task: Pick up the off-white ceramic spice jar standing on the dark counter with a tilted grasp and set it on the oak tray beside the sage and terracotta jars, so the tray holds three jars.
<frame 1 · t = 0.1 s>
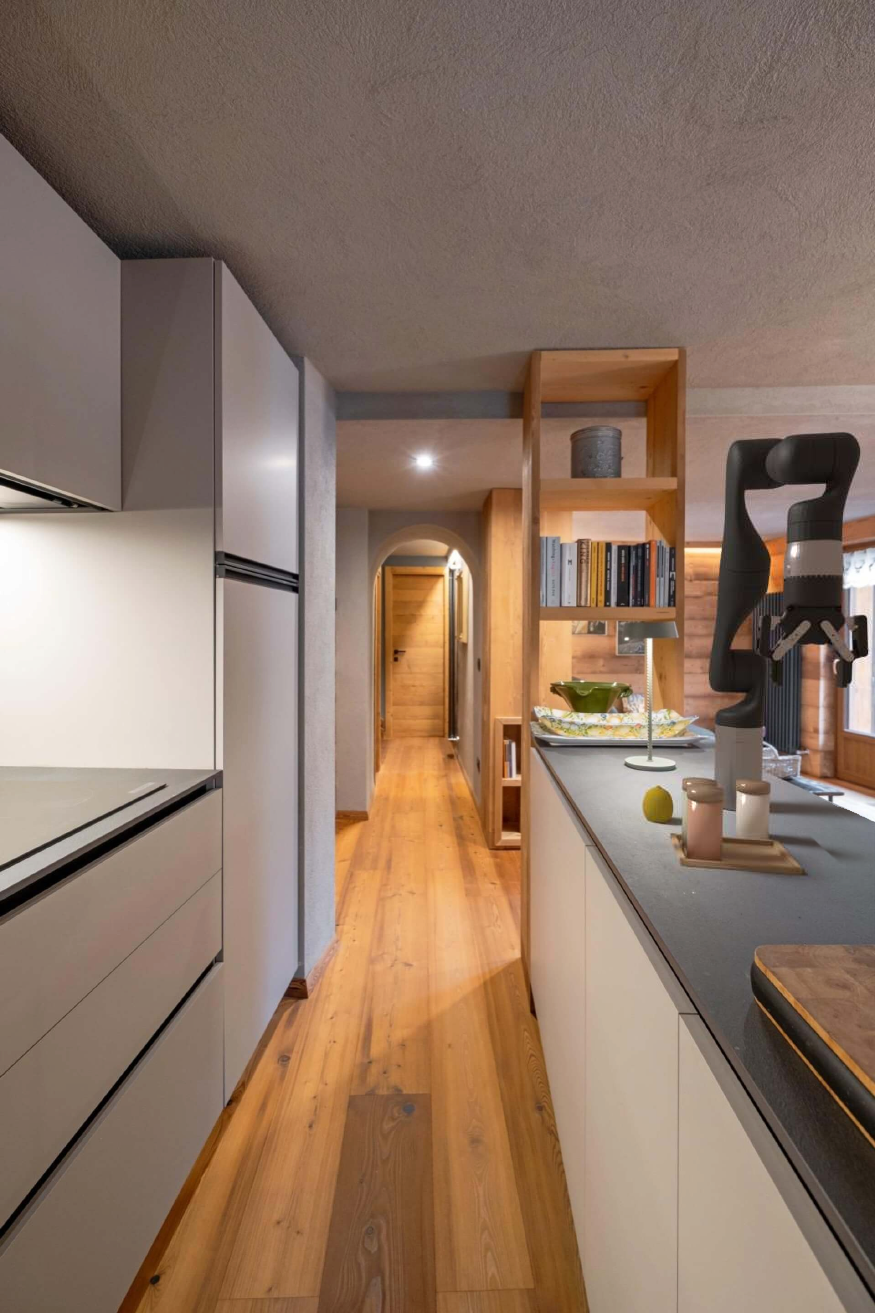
hand: (809, 686, 98), 29 cm above the worktop, tool pointing down, fingers open, 8 cm apart
terracotta jar: (704, 858, 106), point 1 cm above the worktop, touching tray
sage jar: (698, 847, 111), point 1 cm above the worktop, touching tray
white jar: (751, 845, 117), on the worktop
lemon: (657, 828, 127), on the worktop
tray: (730, 864, 108), on the worktop
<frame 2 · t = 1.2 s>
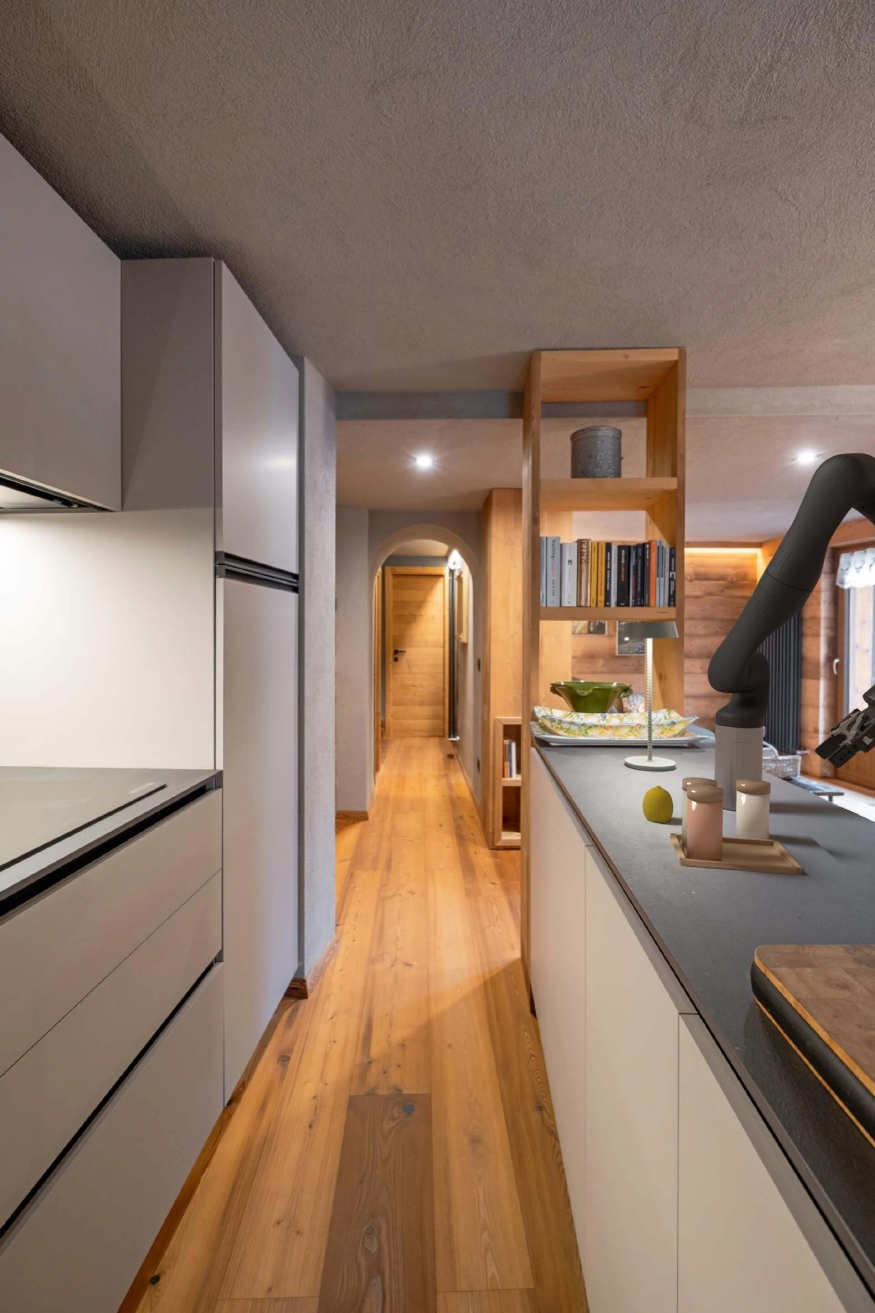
hand: (825, 759, 114), 16 cm above the worktop, tool tilted 45°, fingers open, 8 cm apart
nothing on the worktop moved.
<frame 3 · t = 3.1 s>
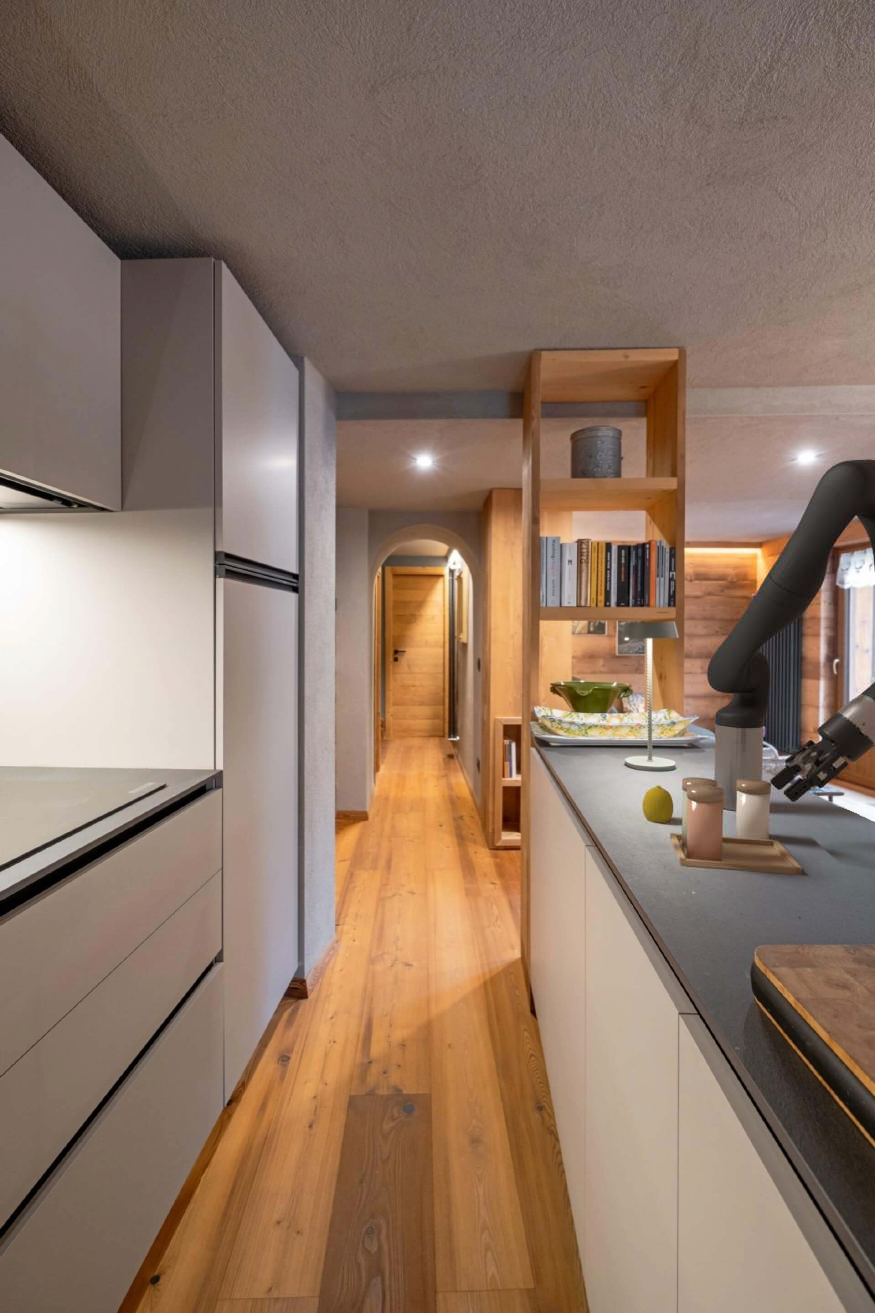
hand: (780, 791, 116), 10 cm above the worktop, tool tilted 45°, fingers open, 8 cm apart
nothing on the worktop moved.
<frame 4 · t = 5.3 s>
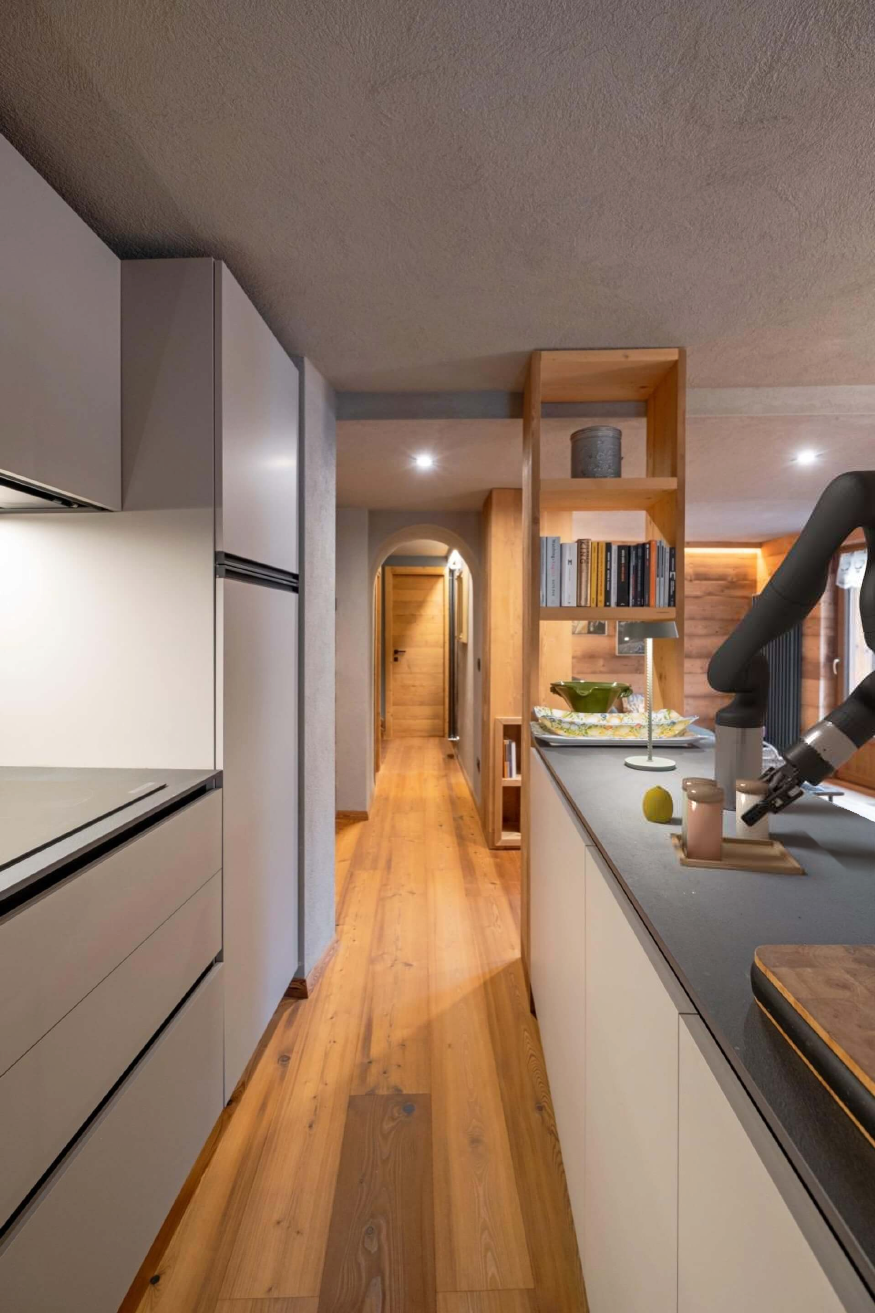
hand: (741, 817, 117), 5 cm above the worktop, tool tilted 45°, fingers closed on white jar, 5 cm apart
white jar: (751, 845, 117), on the worktop, touching gripper
everything else where it was.
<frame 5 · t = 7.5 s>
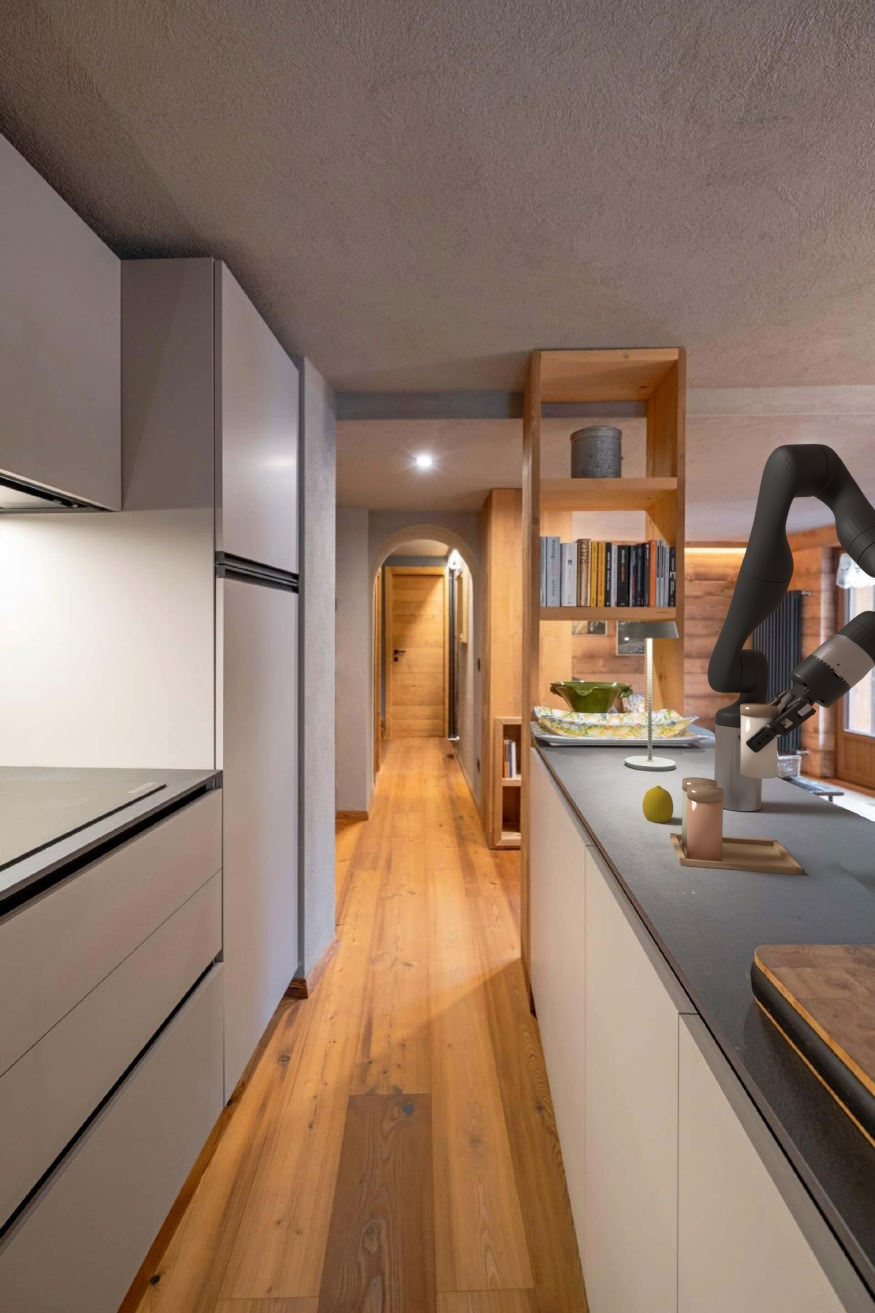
hand: (746, 745, 107), 19 cm above the worktop, tool tilted 45°, fingers closed on white jar, 5 cm apart
white jar: (758, 775, 106), point 15 cm above the worktop, touching gripper
everything else where it was.
when the fingers open (7 cm above the worktop, at t = 10.2 s): white jar stays where it is, resting on tray.
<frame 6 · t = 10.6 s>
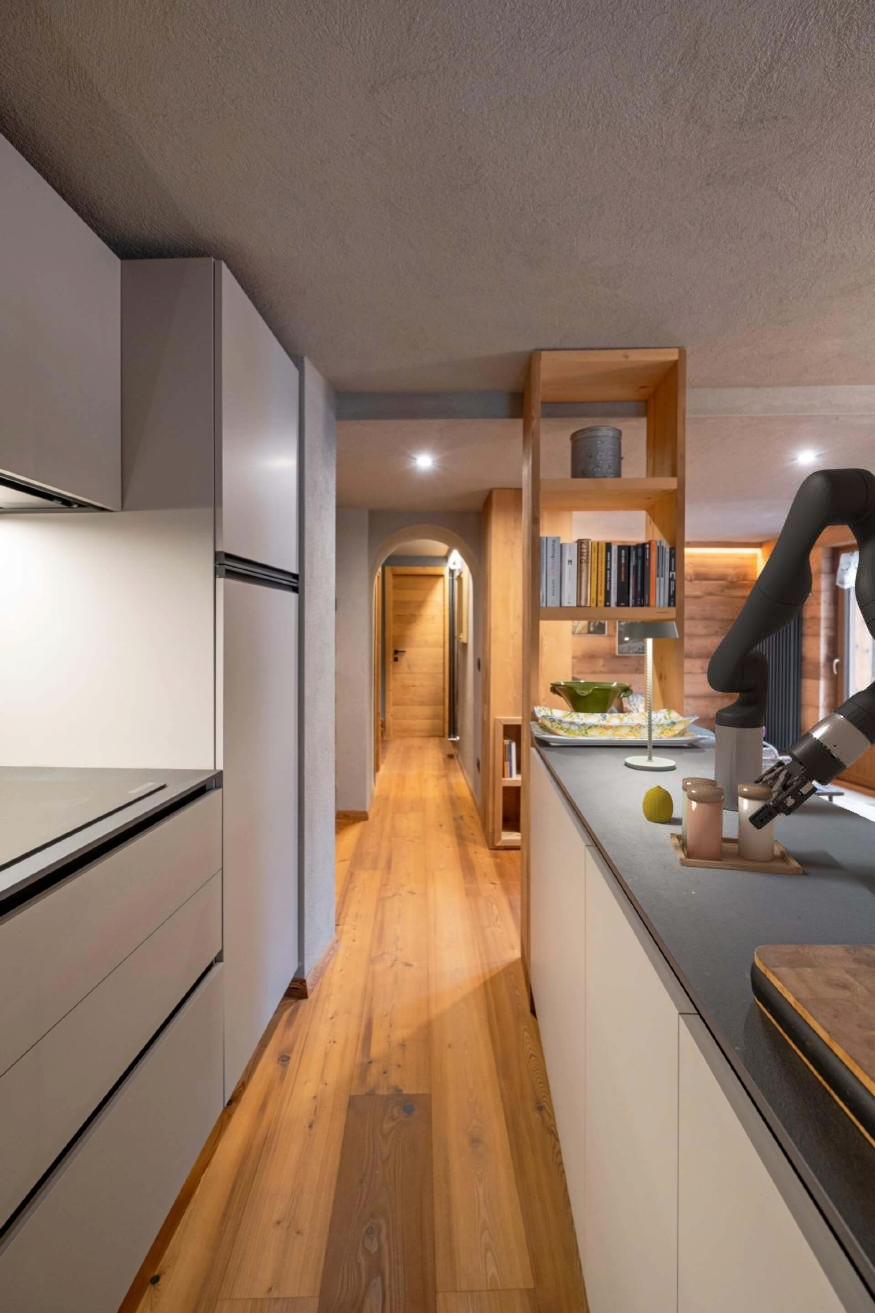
hand: (746, 817, 107), 8 cm above the worktop, tool tilted 45°, fingers open, 8 cm apart
white jar: (755, 856, 107), point 2 cm above the worktop, touching tray
everything else where it was.
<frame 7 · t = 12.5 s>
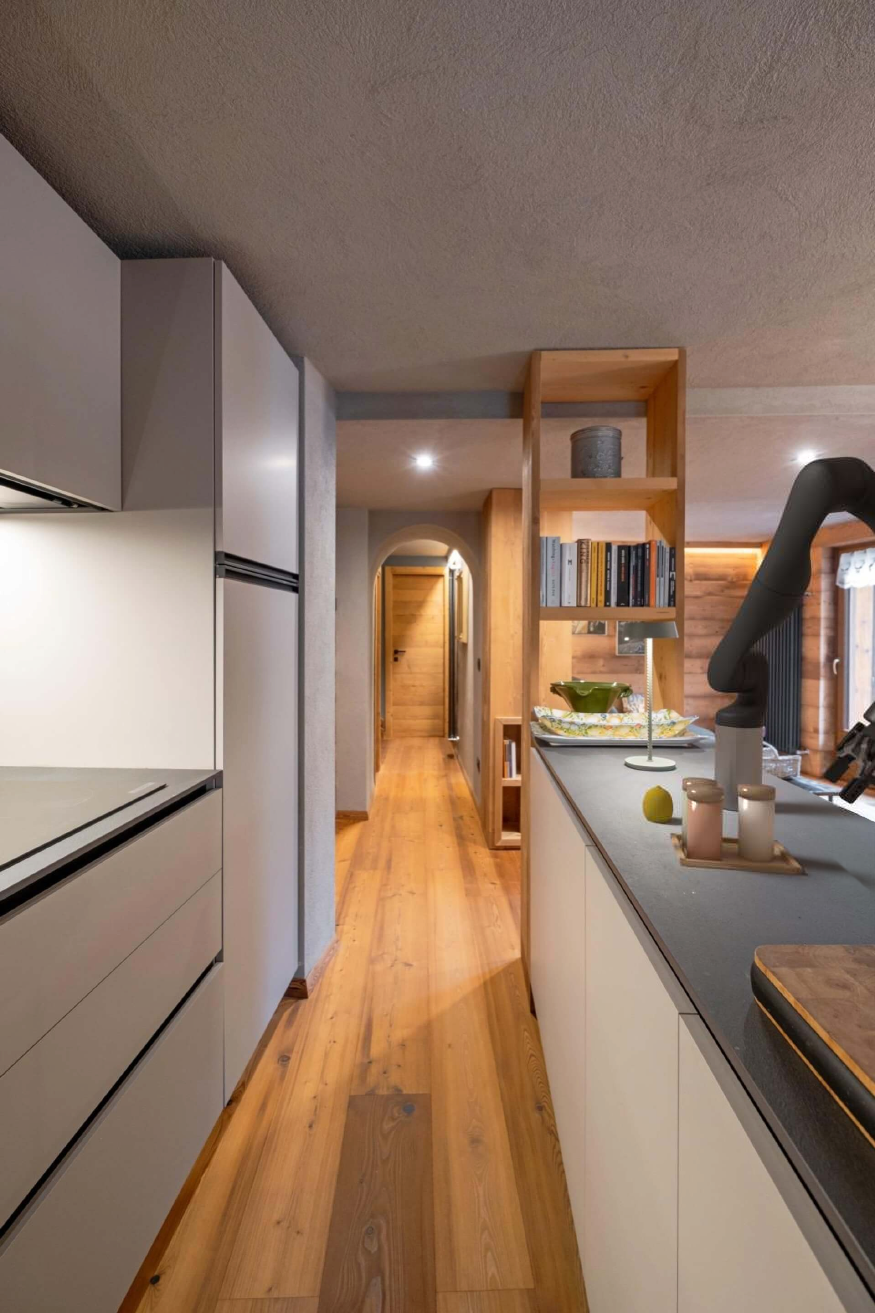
hand: (836, 789, 106), 12 cm above the worktop, tool tilted 35°, fingers open, 8 cm apart
nothing on the worktop moved.
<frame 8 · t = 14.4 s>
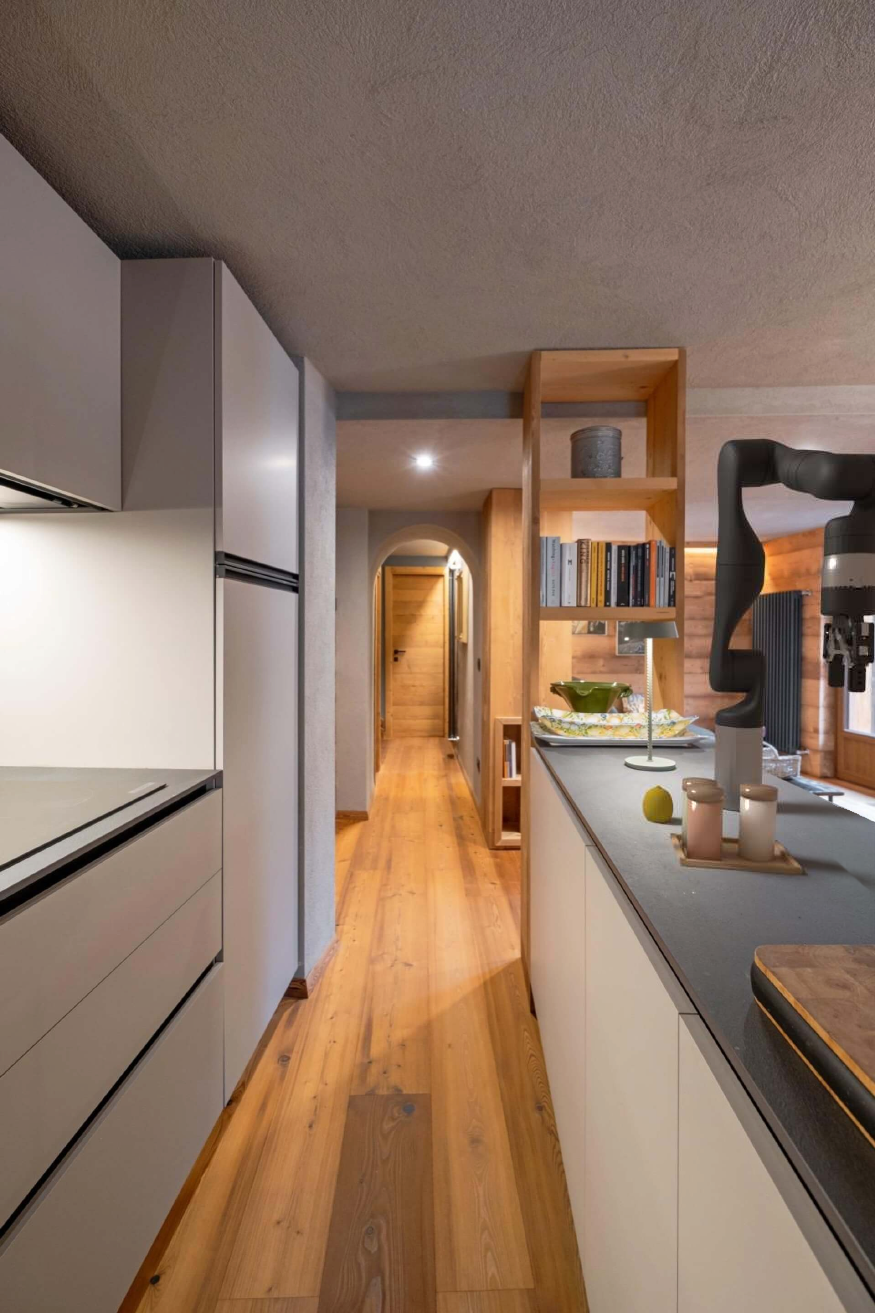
hand: (845, 689, 105), 28 cm above the worktop, tool pointing down, fingers open, 8 cm apart
nothing on the worktop moved.
at the end: white jar inside the target area (0.6 cm from its centre), point 1.6 cm above the worktop; white jar tilted 1°; the gripper is holding nothing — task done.
